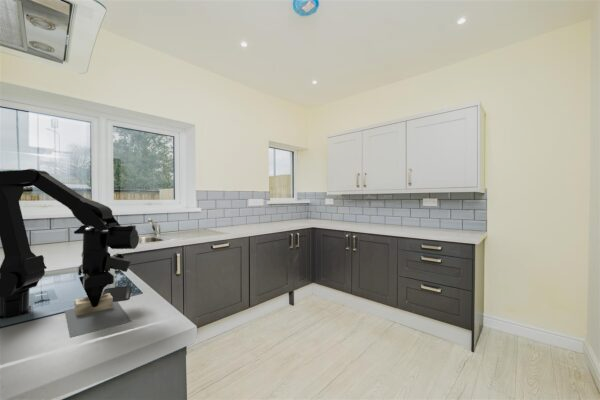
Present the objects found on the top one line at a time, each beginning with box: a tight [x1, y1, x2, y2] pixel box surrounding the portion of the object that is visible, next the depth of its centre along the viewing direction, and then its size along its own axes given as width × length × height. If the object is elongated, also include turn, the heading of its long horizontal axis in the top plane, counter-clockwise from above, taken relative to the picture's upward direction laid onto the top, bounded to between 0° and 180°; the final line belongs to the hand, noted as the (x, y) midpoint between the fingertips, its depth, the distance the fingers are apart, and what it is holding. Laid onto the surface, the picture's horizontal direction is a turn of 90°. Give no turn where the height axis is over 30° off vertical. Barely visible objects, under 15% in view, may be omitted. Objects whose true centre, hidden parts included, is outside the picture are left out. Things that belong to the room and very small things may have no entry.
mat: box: [64, 301, 133, 338], centre depth 70 cm, size 20×12×1 cm, turn 45°
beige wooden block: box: [73, 293, 113, 316], centre depth 74 cm, size 8×5×3 cm, turn 135°
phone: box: [102, 285, 132, 302], centre depth 86 cm, size 8×1×15 cm
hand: (93, 304), depth 74 cm, fingers closed on beige wooden block, 5 cm apart
